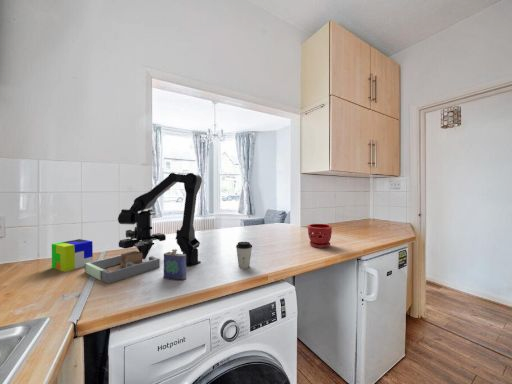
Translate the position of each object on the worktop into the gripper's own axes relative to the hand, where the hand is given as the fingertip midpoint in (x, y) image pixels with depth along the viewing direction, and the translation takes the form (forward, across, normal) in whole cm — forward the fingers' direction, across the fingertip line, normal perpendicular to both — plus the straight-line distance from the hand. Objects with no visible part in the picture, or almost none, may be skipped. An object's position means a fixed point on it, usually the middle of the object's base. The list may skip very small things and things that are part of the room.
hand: (143, 259), depth 99 cm
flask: (+1, +3, +27) cm, 27 cm away
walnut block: (+1, +5, 0) cm, 5 cm away
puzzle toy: (+2, +20, -20) cm, 28 cm away
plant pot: (+1, -72, +56) cm, 91 cm away
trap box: (+1, +10, +3) cm, 10 cm away
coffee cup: (+1, -21, +41) cm, 46 cm away
